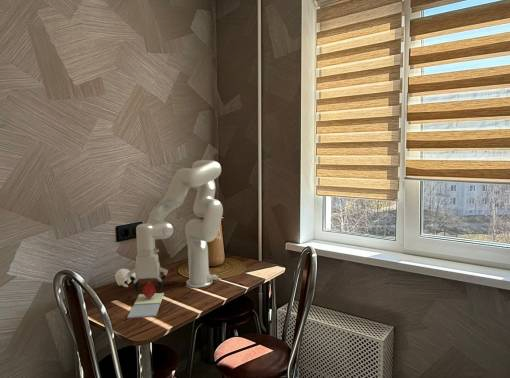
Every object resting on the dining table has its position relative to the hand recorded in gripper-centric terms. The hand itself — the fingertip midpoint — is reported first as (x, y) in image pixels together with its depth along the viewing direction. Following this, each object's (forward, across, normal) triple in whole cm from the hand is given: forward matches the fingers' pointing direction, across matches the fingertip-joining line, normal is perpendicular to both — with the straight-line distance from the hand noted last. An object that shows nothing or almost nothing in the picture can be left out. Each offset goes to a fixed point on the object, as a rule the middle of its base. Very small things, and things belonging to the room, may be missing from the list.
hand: (148, 290), depth 173 cm
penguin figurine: (+5, +14, -22) cm, 26 cm away
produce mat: (+4, 0, 0) cm, 4 cm away
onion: (+4, 0, 0) cm, 4 cm away
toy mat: (+4, 0, +12) cm, 13 cm away
